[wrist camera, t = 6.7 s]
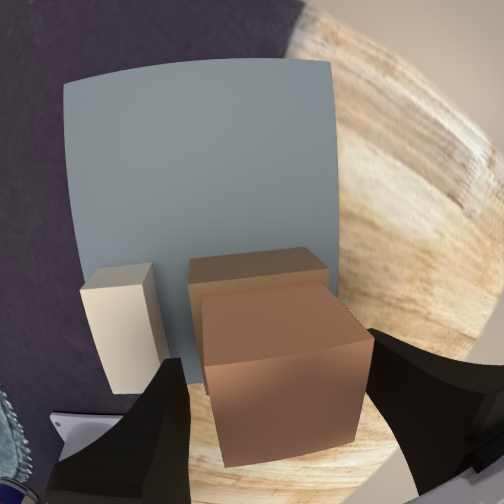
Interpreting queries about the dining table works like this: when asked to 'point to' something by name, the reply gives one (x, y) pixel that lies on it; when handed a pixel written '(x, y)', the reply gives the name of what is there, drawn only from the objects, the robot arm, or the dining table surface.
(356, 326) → the terracotta block
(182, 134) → the board
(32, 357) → the dining table surface
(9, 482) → the energy drink
